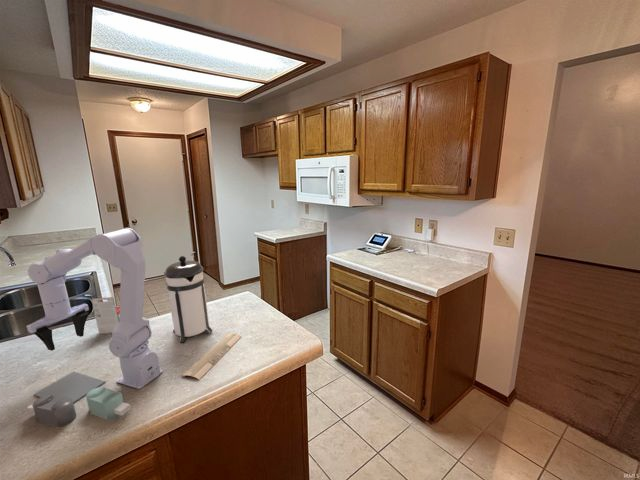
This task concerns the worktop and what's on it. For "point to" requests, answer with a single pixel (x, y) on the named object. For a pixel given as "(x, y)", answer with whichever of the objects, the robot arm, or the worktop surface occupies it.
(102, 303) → the ink box
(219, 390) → the worktop surface
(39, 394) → the mat
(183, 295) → the coffee press
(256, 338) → the worktop surface
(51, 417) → the plug
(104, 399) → the teal plug
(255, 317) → the worktop surface
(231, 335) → the wooden plank
